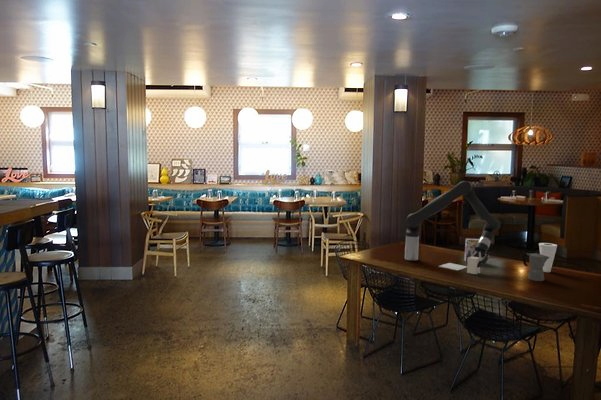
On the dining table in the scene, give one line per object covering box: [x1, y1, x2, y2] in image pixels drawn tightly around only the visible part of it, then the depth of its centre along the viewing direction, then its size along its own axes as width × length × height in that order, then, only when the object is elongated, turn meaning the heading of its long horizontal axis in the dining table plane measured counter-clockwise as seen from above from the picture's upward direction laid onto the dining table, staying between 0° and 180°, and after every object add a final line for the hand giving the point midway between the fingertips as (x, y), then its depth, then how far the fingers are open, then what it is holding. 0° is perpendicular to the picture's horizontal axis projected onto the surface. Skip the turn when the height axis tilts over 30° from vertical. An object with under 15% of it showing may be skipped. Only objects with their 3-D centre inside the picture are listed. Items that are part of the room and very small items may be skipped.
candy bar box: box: [464, 238, 480, 263], centre depth 320 cm, size 11×5×16 cm, turn 84°
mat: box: [438, 262, 467, 272], centre depth 306 cm, size 14×14×1 cm
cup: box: [538, 242, 558, 273], centre depth 295 cm, size 11×11×18 cm
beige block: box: [466, 257, 481, 275], centre depth 290 cm, size 6×6×10 cm
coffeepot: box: [521, 250, 549, 282], centre depth 277 cm, size 15×9×18 cm, turn 54°
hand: (473, 265), depth 289 cm, fingers closed on beige block, 5 cm apart
